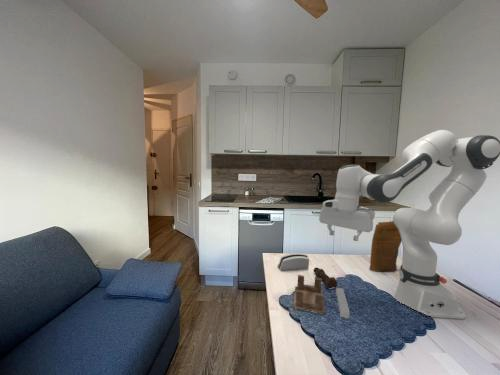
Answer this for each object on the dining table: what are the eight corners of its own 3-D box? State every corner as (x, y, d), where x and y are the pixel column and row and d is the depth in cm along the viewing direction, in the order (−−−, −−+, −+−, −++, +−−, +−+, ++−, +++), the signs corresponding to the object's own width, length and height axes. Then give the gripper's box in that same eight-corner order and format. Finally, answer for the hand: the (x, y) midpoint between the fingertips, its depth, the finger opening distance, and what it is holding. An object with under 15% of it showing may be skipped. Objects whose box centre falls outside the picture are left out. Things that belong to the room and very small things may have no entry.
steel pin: (342, 295, 96) (343, 288, 96) (349, 319, 81) (349, 312, 80) (335, 293, 97) (335, 287, 97) (340, 318, 82) (340, 310, 81)
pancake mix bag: (405, 272, 117) (410, 221, 114) (372, 273, 115) (376, 222, 112) (395, 266, 124) (400, 218, 121) (364, 267, 121) (368, 218, 118)
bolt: (316, 276, 115) (333, 292, 100) (309, 272, 114) (325, 287, 99) (322, 266, 115) (339, 280, 100) (314, 262, 114) (331, 276, 99)
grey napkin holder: (304, 264, 125) (308, 250, 120) (308, 270, 120) (312, 256, 116) (276, 266, 121) (279, 252, 117) (279, 272, 117) (282, 258, 113)
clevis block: (322, 292, 97) (323, 277, 96) (325, 315, 82) (326, 297, 82) (295, 288, 100) (295, 273, 99) (292, 309, 86) (293, 292, 85)
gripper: (376, 207, 84) (373, 242, 86) (324, 200, 97) (322, 230, 98) (373, 209, 79) (370, 246, 81) (319, 202, 92) (316, 233, 93)
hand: (343, 237), depth 90 cm, fingers open, 8 cm apart
